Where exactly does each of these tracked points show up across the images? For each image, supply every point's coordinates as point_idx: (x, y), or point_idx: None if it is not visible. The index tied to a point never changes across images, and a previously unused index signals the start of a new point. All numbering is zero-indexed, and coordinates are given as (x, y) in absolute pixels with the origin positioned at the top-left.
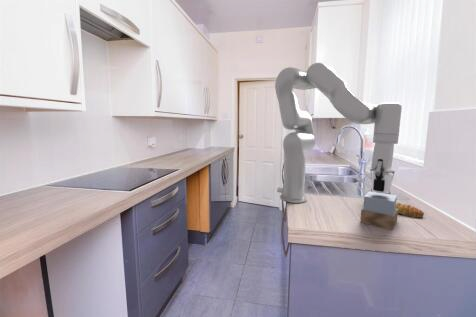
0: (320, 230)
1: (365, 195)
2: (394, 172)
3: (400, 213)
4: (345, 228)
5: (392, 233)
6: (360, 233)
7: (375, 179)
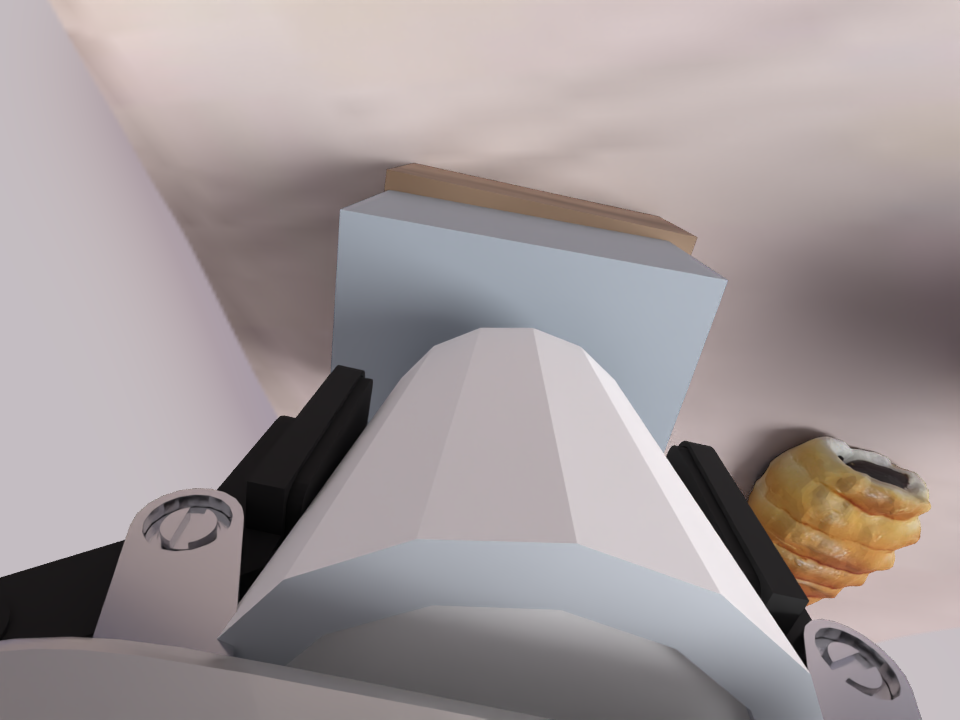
0: None
1: (412, 226)
2: None
3: (766, 470)
4: (181, 43)
5: (319, 378)
6: (167, 174)
7: (209, 504)
